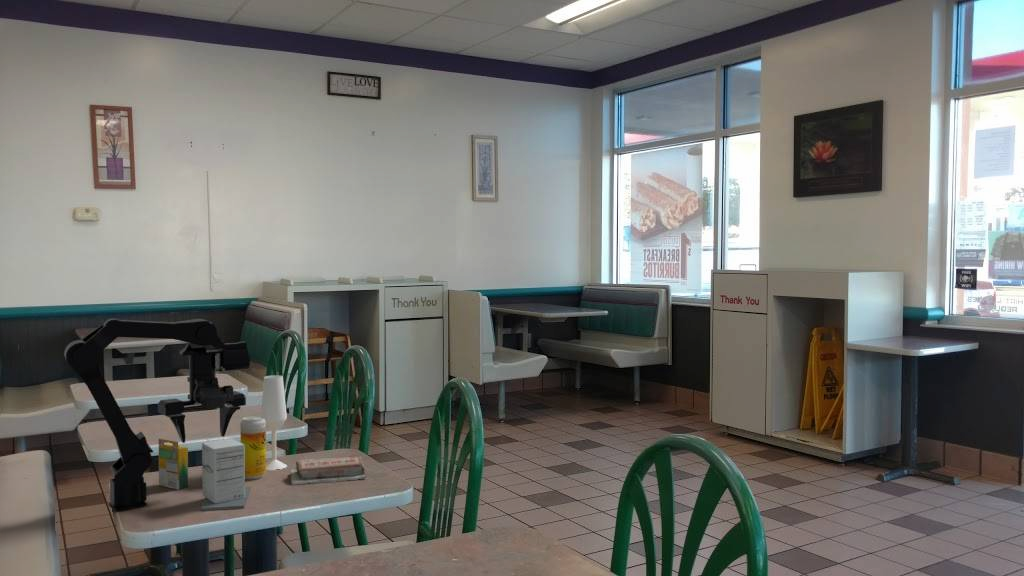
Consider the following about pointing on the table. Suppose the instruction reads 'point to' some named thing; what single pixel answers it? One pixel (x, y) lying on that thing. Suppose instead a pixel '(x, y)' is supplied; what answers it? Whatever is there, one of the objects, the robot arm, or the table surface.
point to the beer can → (254, 446)
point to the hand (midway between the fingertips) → (203, 439)
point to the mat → (226, 503)
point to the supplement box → (223, 470)
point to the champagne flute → (274, 413)
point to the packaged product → (327, 470)
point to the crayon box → (173, 465)
